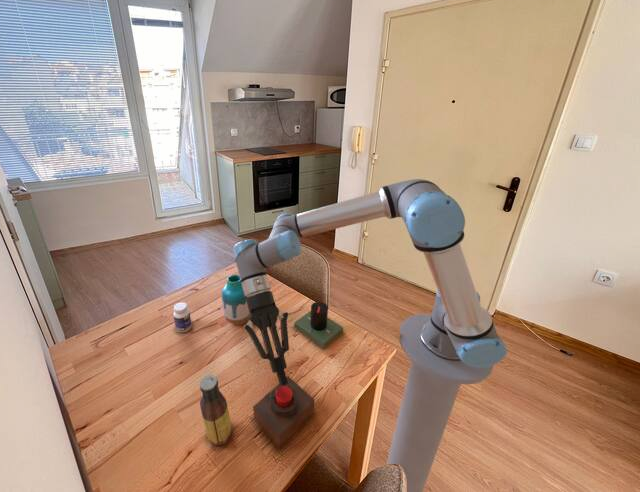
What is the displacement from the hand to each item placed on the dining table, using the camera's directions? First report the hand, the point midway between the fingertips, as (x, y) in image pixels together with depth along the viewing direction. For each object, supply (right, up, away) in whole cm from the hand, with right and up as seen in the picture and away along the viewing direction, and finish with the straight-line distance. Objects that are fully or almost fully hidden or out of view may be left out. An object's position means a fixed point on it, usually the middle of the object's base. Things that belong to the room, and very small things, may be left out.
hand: (283, 384), depth 75 cm
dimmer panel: (+13, +2, +33) cm, 36 cm away
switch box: (0, -11, +5) cm, 12 cm away
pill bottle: (-37, +2, +35) cm, 51 cm away
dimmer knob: (+13, +4, +32) cm, 35 cm away
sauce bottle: (-17, -14, +1) cm, 22 cm away
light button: (0, -5, +2) cm, 5 cm away
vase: (-17, +3, +39) cm, 43 cm away
